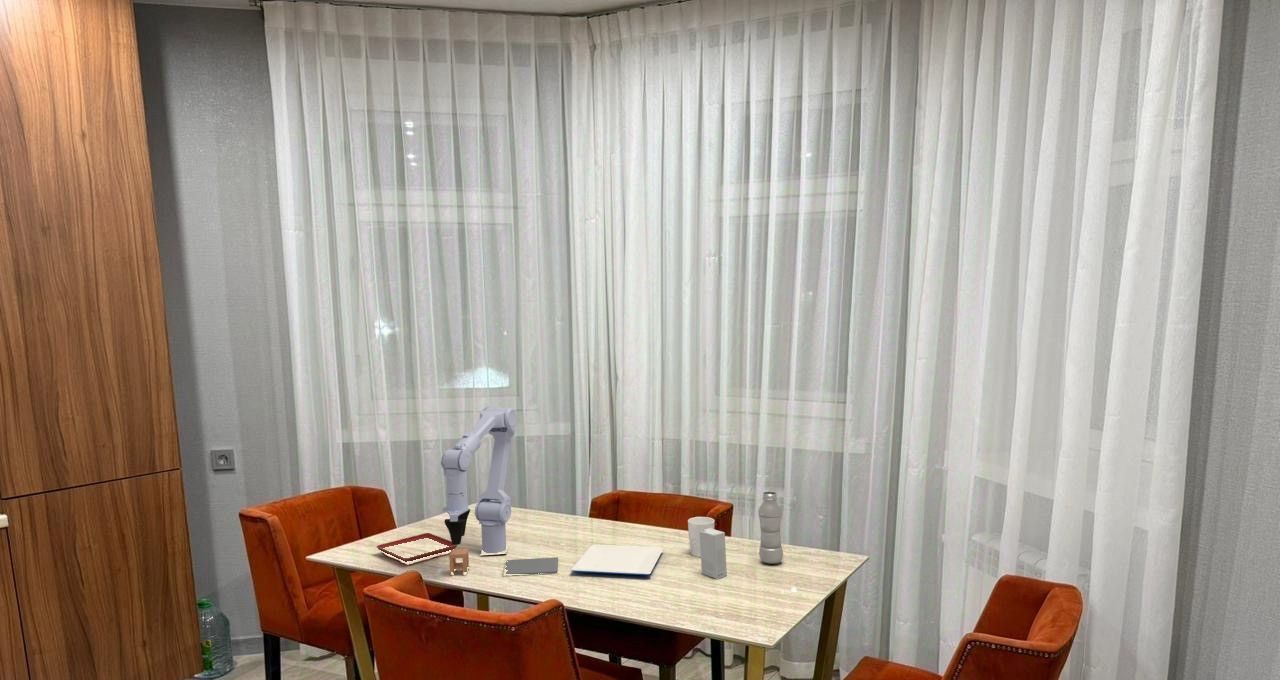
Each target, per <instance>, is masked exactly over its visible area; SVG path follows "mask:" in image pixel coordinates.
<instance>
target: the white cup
mask: <svg viewBox="0 0 1280 680" xmlns="http://www.w3.org/2000/svg"><path fill="white" fill-rule="evenodd" d="M687 525H688V526H687V528H688V541H689V542H688V543H689V549H690V550H689V551H690V555H691V556H693V557H696V558H701V550H700V531H702V530H705V529H708V528H711V529H714V530H715V519H714V518H712V517H707V516H695V517H690V518H689V519H687Z"/></svg>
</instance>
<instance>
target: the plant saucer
mask: <svg viewBox="0 0 1280 680" xmlns="http://www.w3.org/2000/svg"><path fill="white" fill-rule="evenodd" d="M424 538H429V539H432V540H434V541H437V542H439V543H441V544H444V545H447V546H449V547H446V548H443V549H439V550H435V551H432V552H428V553H424V554H421V555H417V556H414V557H410V558H403V557H401V556H398V555H396V554H394V553H392V552H389V551H387V550H385V549H383V548H385V547H389V546H394V545H398V544H402V543H407V542H411V541H416V540H419V539H424ZM457 547H458V545H453V544H452V541H451V540H449V539H446V538H444V537H441V536H439V535H435V534H432V533H431V532H425V533H421V534H417V535H413V536H409V537H405V538H401V539H396V540H393V541H390V542H385V543H382V544H378V545H376V548H377V549H378V550H381V551H383V552H385V553H387V554H390V555H392V556H394V557H396V558H398V559H401V560H403V561H405V562H407V561H413V560H416V559H420V558H423V557H427V556H430V555H434V554H438V553H442V552H446V551H449V550H453V549H454V550H455V549H457Z"/></svg>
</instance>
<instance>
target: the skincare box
mask: <svg viewBox="0 0 1280 680" xmlns="http://www.w3.org/2000/svg"><path fill="white" fill-rule="evenodd" d="M700 550H701V557H700V564H701V565H700V566H701V567H700V568H701V574H702V575H704V576H707V577H710V578H713V579H716V580H718V579H723V578H724V577H727V574H728V571H727V554H726V553H727V552H726V551H727V549H726V533H725V532H724V531H721V530H717V529H715V528H714V529H711V528H708V529H705V530H702V531H700Z"/></svg>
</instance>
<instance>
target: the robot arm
mask: <svg viewBox="0 0 1280 680" xmlns="http://www.w3.org/2000/svg"><path fill="white" fill-rule="evenodd" d="M517 422H518V416H517V413H516V410H515V409H514V407H512V406H511V407H510V406H509V407H491V406H490V407H489V406H484V408H482V410H481V411H480V412H479V420H478V422H477V423H476V425H475V426H474V428H473V429H472V430H471V431H470V432H466V433H463V435H462V437H461V438H459V440H458V441H457V442H456V443H455V444H454V445H453V447H452V448H449V449H447V450H445V451H444V452H443V453H442V456H441V460H440V466H441V468H442V470H443V471H442V472H443V475H444V477H445V488H446V489H445V490H446V491H445V492H446V494H445V495H446V506H445V507H443V508H442V512H444V513H445V512H446V513H447V514H448V515H449V518H445V519H444V521H443V523H444V525H445V526H446V528H447V530H448V533H449V536H450V541H452V544H453V545H457V546H458V545H461V543H462V537H465V533H466V528H467V521H468V518H469V515H470V513H471V509H470V507H469V505H468V504H469V503H468V501H469V499H468V477H467V476H468V473H467V470H468V469H469V468H470V467H471V466H470V465H471V461H472V459H473V456H474V455H475V453H476V452H478V450H479V448H480V447H481V443H482V441H481V440H482V439H484V437H486V435H487V434H489V435H491V436H492V437H493V439H494V442H493V447H492V454H491V460H490V468H489V475H488V479H487V480H488V482H487V487H486V490H485V491H483V492H481V494H479V496H478V499H477V503H476V505H475V507H474V516H475V519H476V520H477V521H478V524H479V525H481V549H482V550H483V551H484V552H486V553H498V552H502V551H505V550H506V544H507V534H506V533H507V529H506V527H507V526H506V523H508V521H509V520H510V518H511V515H512V505H511V504H512V499H511V497H510V496H509V495H508V494H507V493H506V492H505V486H506V479H507V473H508V467H509V466H508V465H509V459H510V452H511V446H512V437H513V436H515V434H516V430H517V429H516V428H517Z"/></svg>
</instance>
